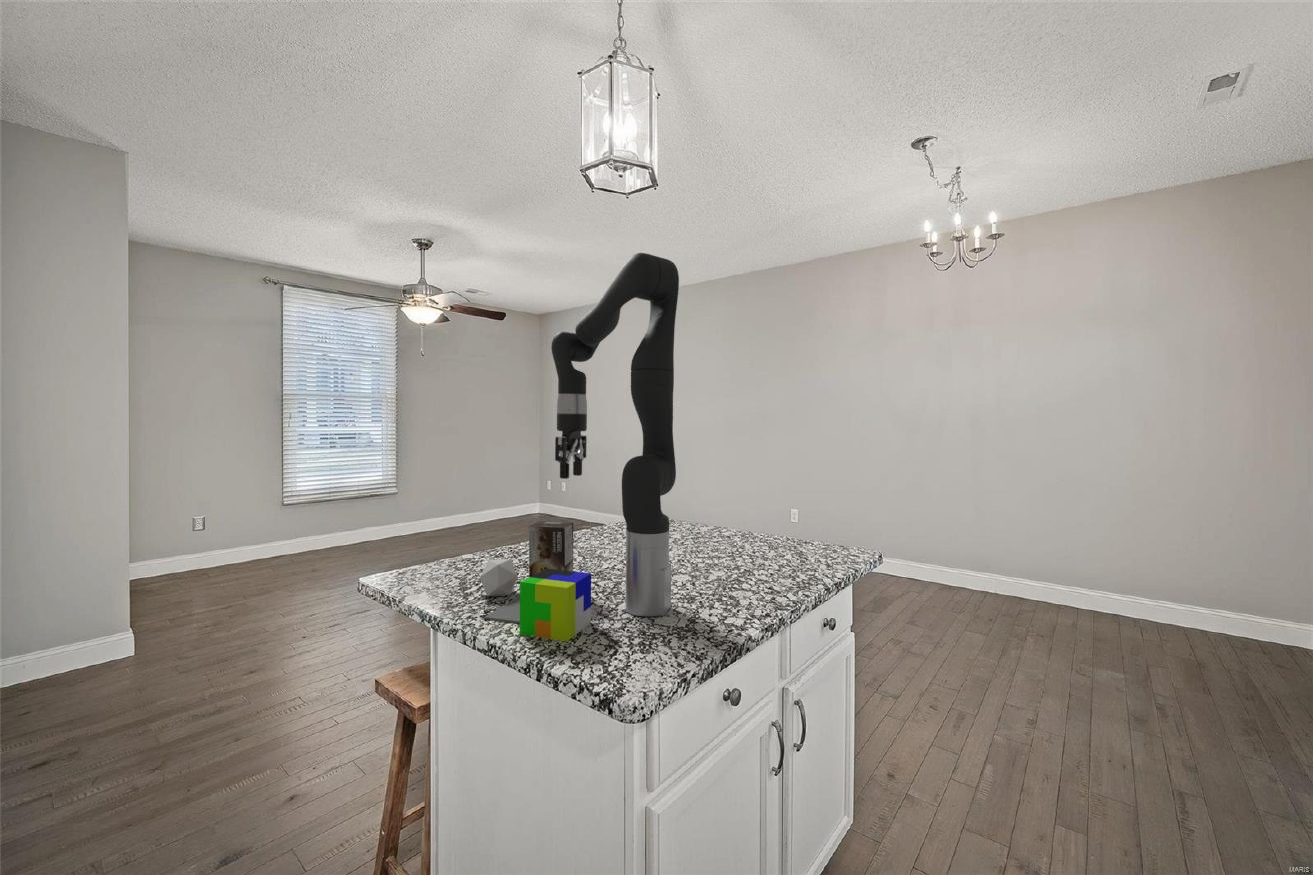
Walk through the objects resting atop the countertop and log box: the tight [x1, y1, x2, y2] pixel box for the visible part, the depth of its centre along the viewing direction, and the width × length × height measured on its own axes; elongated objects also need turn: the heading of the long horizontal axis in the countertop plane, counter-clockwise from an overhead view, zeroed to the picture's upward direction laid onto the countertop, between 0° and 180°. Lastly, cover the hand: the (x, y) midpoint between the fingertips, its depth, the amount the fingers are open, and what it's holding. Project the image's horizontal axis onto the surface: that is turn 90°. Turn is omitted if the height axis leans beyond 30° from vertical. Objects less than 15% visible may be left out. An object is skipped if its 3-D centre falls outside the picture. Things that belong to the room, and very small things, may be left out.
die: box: [479, 558, 519, 597], centre depth 125 cm, size 8×9×10 cm
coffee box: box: [528, 520, 574, 578], centre depth 127 cm, size 9×6×16 cm
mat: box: [484, 595, 520, 624], centre depth 116 cm, size 9×16×1 cm, turn 165°
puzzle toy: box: [519, 568, 592, 642], centre depth 105 cm, size 10×10×10 cm
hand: (571, 476), depth 137 cm, fingers open, 7 cm apart
